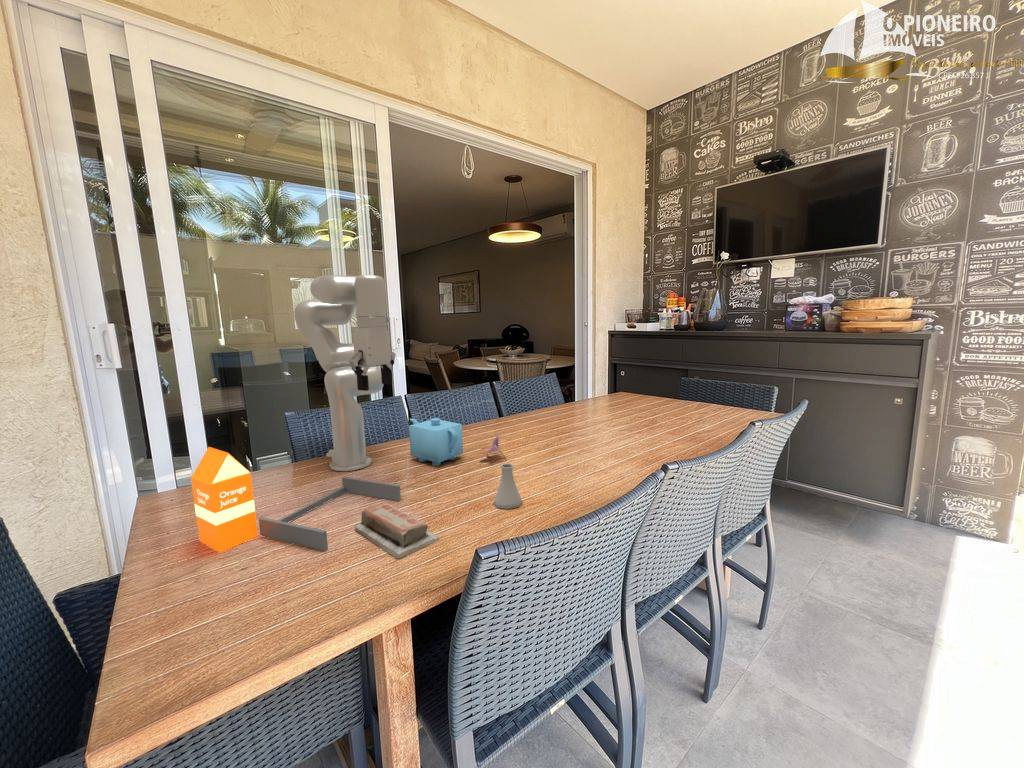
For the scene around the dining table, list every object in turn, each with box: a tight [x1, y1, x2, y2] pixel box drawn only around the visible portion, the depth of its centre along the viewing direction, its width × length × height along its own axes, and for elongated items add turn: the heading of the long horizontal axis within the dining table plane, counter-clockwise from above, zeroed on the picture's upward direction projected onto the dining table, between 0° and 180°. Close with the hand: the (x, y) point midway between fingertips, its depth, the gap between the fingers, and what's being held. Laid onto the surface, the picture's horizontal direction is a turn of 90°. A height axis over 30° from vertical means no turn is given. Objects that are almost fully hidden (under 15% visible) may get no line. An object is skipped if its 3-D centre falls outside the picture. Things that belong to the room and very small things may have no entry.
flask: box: [493, 462, 523, 510], centre depth 106 cm, size 7×7×10 cm
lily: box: [479, 430, 507, 462], centre depth 139 cm, size 12×12×10 cm
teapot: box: [408, 417, 464, 467], centre depth 140 cm, size 22×11×14 cm, turn 53°
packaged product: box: [354, 502, 440, 560], centre depth 92 cm, size 18×5×10 cm
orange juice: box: [190, 446, 259, 553], centre depth 89 cm, size 8×9×20 cm
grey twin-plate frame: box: [258, 476, 402, 552], centre depth 100 cm, size 18×26×4 cm
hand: (375, 387), depth 115 cm, fingers open, 9 cm apart
